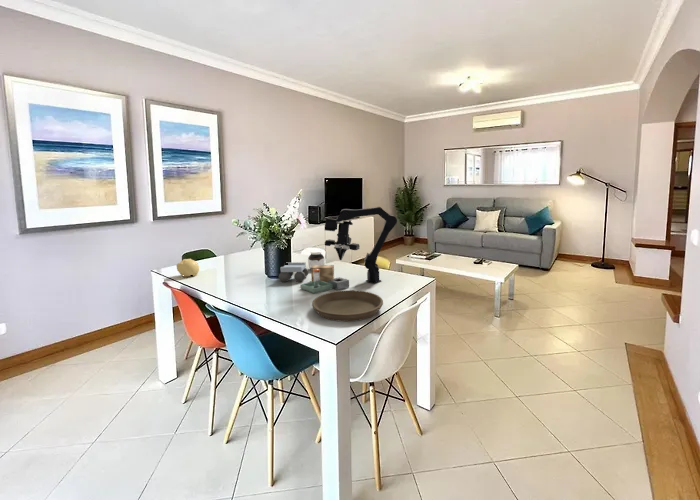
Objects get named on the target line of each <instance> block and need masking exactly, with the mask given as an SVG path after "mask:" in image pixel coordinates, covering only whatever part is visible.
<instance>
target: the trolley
mask: <svg viewBox="0 0 700 500" xmlns="http://www.w3.org/2000/svg"><path fill="white" fill-rule="evenodd" d="M287 263H288V265H285V264H284V265H283V266H280V273H278V279H279V281H280V282H282V283H286V282H288V281H289V280H290V278H292V277H293V275H294V277H293V278H294V281H296V282H297V283H302V282H304V280H305V279H306V277H308V275H309V270H308V268H307V266H306V262H287Z"/></svg>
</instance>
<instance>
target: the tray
mask: <svg viewBox="0 0 700 500" xmlns="http://www.w3.org/2000/svg"><path fill="white" fill-rule="evenodd" d="M300 289H301V290H303V291H305V292H309V293H311V294H313V295H314V294H319V293H323V292H326V291H330V290H334V289H333V284H330V283H327V282H324V281H321V280H320V287H318V288H314V281H313V282H312V281H310V282H305V283H301V284H300Z"/></svg>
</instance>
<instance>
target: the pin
mask: <svg viewBox="0 0 700 500" xmlns="http://www.w3.org/2000/svg"><path fill="white" fill-rule="evenodd" d="M319 272H320V269H313V279H314V288H318V287H320V275H319Z"/></svg>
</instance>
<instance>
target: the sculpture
mask: <svg viewBox="0 0 700 500" xmlns="http://www.w3.org/2000/svg"><path fill="white" fill-rule="evenodd" d="M176 270H177V272H178V273H179V274H180V276H181V275H184V276H182V277H183V278H187V277H191V276H190V275H193V276H192V277H194V276H195V277H196V276H197V275H198V274H199V272H200V266H199V264H198V263H197V260H194V259H192V258H184V259H182V260H181V261H180V262H178V263H177V264H176Z"/></svg>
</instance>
